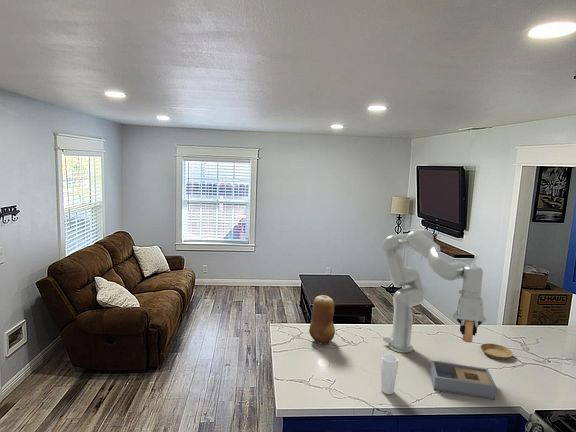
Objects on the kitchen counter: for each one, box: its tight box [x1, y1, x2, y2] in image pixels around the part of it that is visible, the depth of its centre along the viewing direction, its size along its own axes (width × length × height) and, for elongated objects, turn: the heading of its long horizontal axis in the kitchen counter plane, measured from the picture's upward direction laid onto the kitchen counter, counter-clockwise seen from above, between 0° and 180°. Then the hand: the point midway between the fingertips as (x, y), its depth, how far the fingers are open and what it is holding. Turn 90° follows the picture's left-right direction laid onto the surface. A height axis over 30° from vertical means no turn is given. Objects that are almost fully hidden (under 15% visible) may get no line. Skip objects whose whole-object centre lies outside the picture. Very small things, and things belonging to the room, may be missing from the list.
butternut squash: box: [308, 294, 336, 345], centre depth 209 cm, size 14×13×25 cm
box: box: [429, 360, 497, 401], centre depth 174 cm, size 24×15×6 cm, turn 76°
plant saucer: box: [480, 342, 513, 360], centre depth 205 cm, size 15×15×3 cm
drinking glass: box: [380, 353, 399, 395], centre depth 167 cm, size 7×7×15 cm
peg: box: [461, 320, 474, 343], centre depth 176 cm, size 4×4×10 cm
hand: (468, 333), depth 176 cm, fingers closed on peg, 4 cm apart
